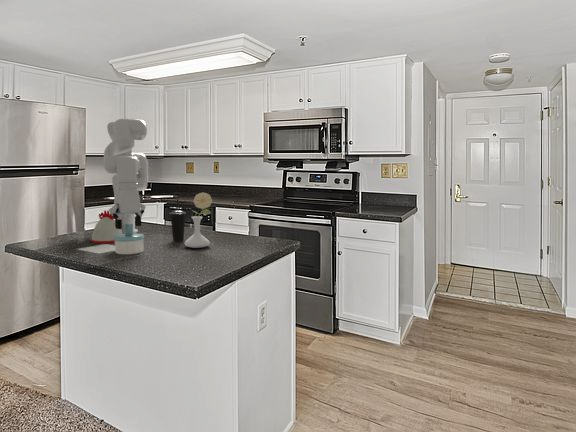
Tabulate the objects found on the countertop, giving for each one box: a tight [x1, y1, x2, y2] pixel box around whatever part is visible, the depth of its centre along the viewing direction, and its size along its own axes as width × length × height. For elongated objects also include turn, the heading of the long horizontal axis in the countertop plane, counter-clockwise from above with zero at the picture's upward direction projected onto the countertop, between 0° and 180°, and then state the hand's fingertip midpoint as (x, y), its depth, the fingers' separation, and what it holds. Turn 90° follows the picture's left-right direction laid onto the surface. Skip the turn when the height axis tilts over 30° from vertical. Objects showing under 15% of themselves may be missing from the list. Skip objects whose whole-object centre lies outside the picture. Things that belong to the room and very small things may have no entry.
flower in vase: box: [184, 191, 213, 249], centre depth 190 cm, size 13×11×25 cm
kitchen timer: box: [91, 209, 122, 244], centre depth 201 cm, size 14×14×15 cm
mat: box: [76, 243, 115, 255], centre depth 183 cm, size 15×14×1 cm
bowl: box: [114, 239, 145, 256], centre depth 178 cm, size 11×11×6 cm
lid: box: [114, 223, 145, 241], centre depth 178 cm, size 12×12×6 cm
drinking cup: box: [169, 199, 187, 242], centre depth 205 cm, size 8×8×20 cm
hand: (128, 227), depth 177 cm, fingers open, 9 cm apart
